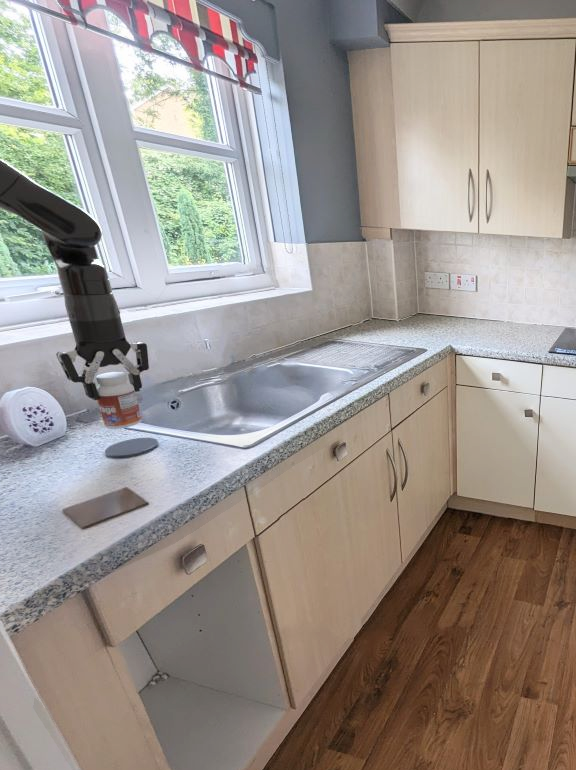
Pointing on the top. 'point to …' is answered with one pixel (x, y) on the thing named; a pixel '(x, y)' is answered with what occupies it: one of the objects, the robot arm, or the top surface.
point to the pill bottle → (117, 400)
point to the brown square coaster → (104, 507)
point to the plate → (131, 447)
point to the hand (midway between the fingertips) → (116, 394)
